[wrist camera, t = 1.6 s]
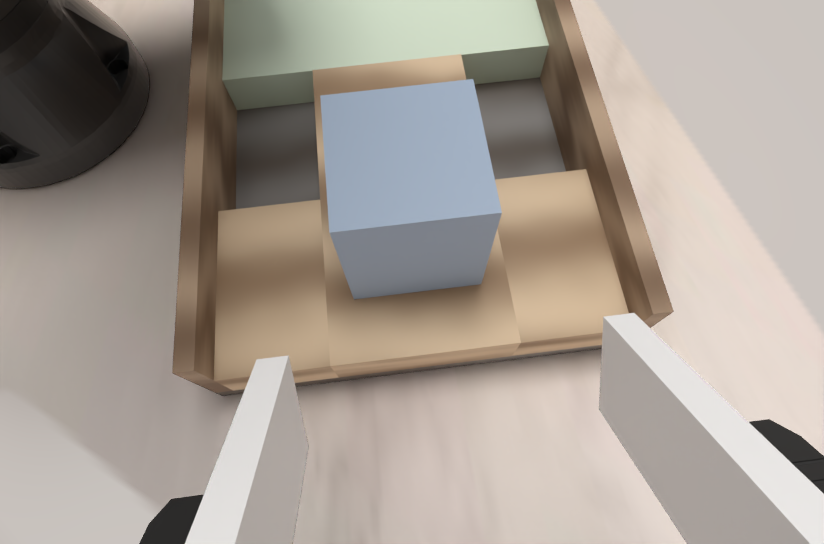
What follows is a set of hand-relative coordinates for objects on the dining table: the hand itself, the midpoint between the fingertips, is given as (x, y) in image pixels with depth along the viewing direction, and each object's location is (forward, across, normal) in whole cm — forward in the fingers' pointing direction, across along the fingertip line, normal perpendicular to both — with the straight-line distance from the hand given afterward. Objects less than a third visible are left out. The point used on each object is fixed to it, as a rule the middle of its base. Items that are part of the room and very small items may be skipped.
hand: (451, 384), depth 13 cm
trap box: (+26, 0, +1) cm, 26 cm away
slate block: (+17, 0, -2) cm, 18 cm away
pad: (+33, 0, +8) cm, 34 cm away
